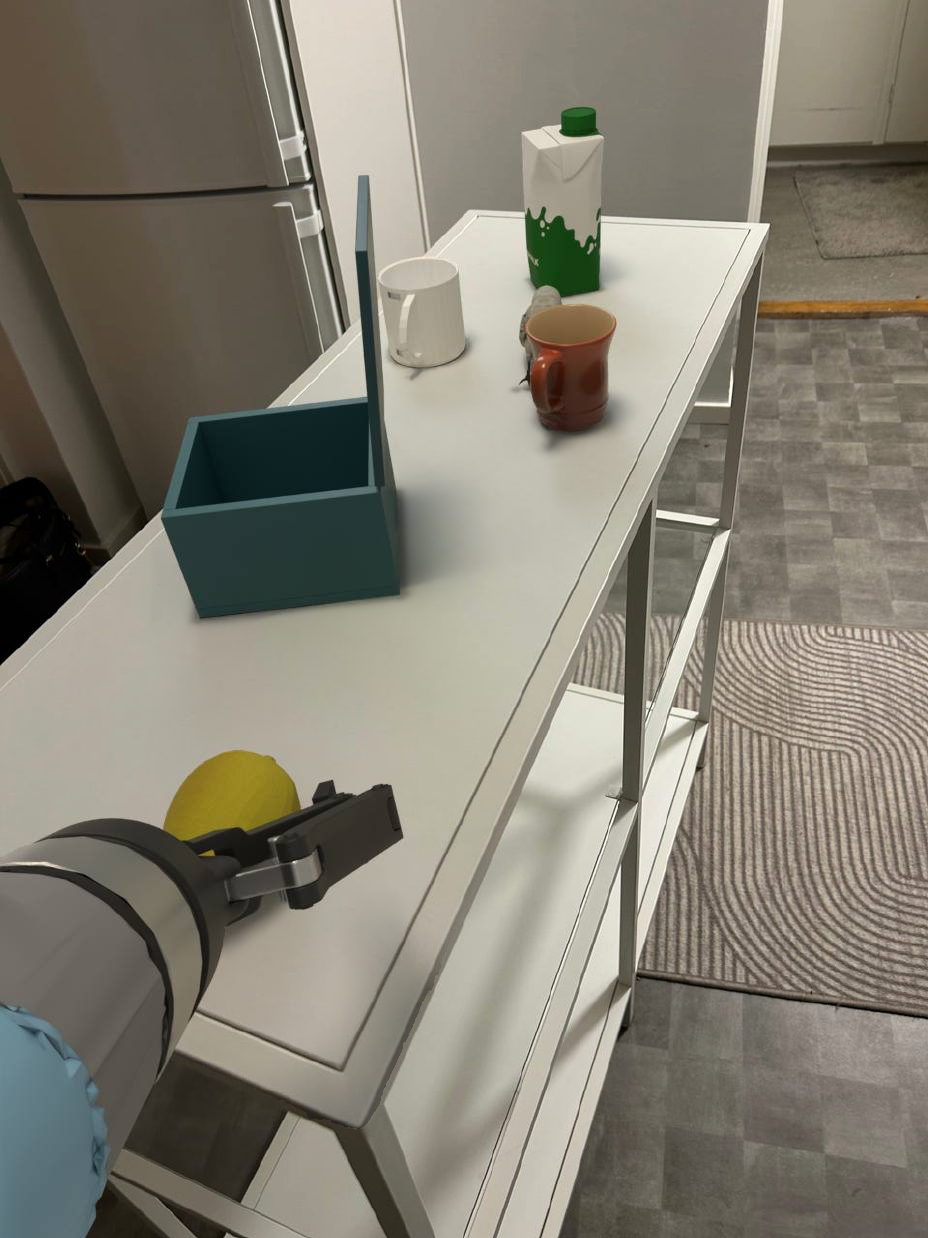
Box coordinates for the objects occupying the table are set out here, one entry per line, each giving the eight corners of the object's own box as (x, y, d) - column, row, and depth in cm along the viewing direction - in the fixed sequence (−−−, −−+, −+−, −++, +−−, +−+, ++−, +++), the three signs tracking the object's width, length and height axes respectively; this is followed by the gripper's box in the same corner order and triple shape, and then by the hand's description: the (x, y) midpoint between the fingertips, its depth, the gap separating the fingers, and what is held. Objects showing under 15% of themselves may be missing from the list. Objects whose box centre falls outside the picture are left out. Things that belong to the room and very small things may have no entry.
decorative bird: (571, 324, 111) (570, 263, 106) (566, 392, 100) (565, 327, 94) (526, 326, 112) (523, 265, 107) (516, 393, 100) (512, 329, 95)
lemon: (246, 780, 64) (215, 704, 59) (340, 816, 61) (317, 739, 56) (144, 911, 58) (98, 837, 52) (244, 958, 55) (207, 886, 49)
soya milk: (608, 291, 117) (611, 117, 103) (540, 304, 116) (533, 130, 102) (586, 265, 123) (585, 99, 110) (520, 278, 122) (512, 111, 109)
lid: (354, 250, 58) (367, 250, 58) (358, 174, 69) (368, 174, 69) (374, 487, 70) (385, 486, 70) (374, 390, 81) (383, 389, 81)
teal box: (199, 618, 78) (160, 517, 71) (221, 513, 89) (189, 417, 82) (399, 595, 77) (380, 491, 70) (396, 492, 89) (380, 394, 81)
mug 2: (552, 389, 100) (549, 298, 93) (627, 404, 96) (630, 310, 89) (499, 446, 93) (492, 351, 86) (579, 464, 89) (578, 367, 82)
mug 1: (412, 328, 114) (401, 253, 108) (478, 337, 111) (471, 259, 105) (364, 374, 107) (350, 296, 100) (433, 385, 103) (423, 305, 97)
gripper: (-353, 1220, 26) (-27, 975, 47) (514, 974, 28) (452, 848, 49) (-407, 953, 26) (-58, 829, 47) (456, 736, 29) (419, 711, 50)
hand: (204, 838), depth 48 cm, fingers open, 13 cm apart
